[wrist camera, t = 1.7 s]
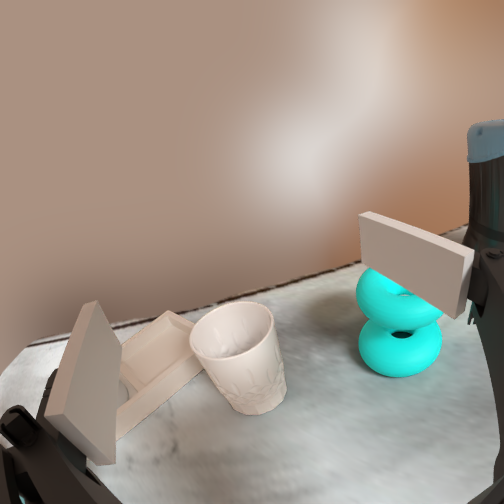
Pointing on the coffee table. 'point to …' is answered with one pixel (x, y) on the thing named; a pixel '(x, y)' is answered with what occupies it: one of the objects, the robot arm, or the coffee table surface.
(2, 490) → the robot arm
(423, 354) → the donuts
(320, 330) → the coffee table surface
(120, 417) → the tray
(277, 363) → the white cup
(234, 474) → the coffee table surface
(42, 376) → the coffee table surface
